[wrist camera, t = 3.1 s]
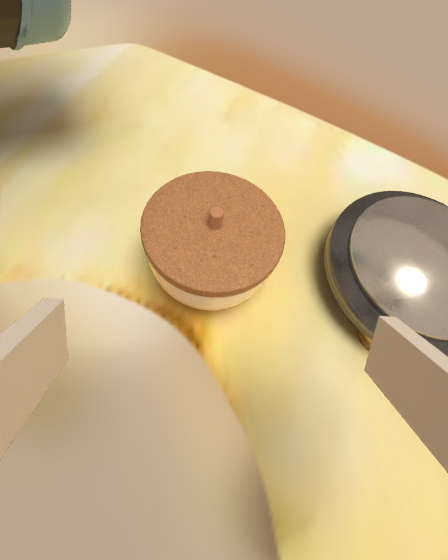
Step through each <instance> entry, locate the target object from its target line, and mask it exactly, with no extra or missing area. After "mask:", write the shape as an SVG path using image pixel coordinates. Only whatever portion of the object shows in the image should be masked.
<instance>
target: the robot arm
mask: <svg viewBox="0 0 448 560" xmlns="http://www.w3.org/2000/svg"><path fill="white" fill-rule="evenodd" d="M70 20H71V0H0V48H6V47H10V48H11V49H12V50H19V49H21V48H22V47H24V46H25V45H32V44H39V43H46V42H53V41H56V40H58V39H60V38H62V37H63V35H64V34H65V33H66V31H67V30H68V27H69V25H70ZM67 360H68V352H67V339H66V327H65V313H64V301H63V299H48V298H43V299H42V300H41V301H39V302H38V303H37V304H36V305H35V306H33V307H32V308H31V309H30V310H29V311H27V312H26V313H25V314H24V315H23V316H22V317H20V318H19V319H18V320H17V321H16V322H14V323H13V324H12V325H11V326H10V327H9V328H7V329H6V330H5V331H4V332H3V333H1V334H0V460H1V458H2V457H3V455H4V454H5V452H6V451H7V449H8V448H9V446H10V445H11V443H12V442H13V440H14V439H15V437H16V436H17V434H18V433H19V431H20V430H21V429H22V427H23V426H24V424H25V422H26V421H27V420H28V418H29V417H30V415H31V414H32V412H33V411H34V409H35V408H36V406H37V405H38V403H39V402H40V400H41V399H42V397H43V396H44V394H45V393H46V392H47V390H48V389H49V387H50V386H51V384H52V383H53V381H54V380H55V378H56V377H57V375H58V374H59V372H60V371H61V369H62V368H63V366H64V365H65V363H66V362H67ZM365 372H366V373H367V374H368V375H369V376H370V378H371V379H372V380H373V381H374V383H375V384H376V385H377V386H378V388H379V389H380V390H381V391H382V393H383V394H384V395H385V396H386V397H387V399H388V400H389V401H390V402H391V404H392V405H393V406H394V407H395V409H396V410H397V411H398V412H399V413H400V415H401V416H402V417H403V418H404V420H405V421H406V422H407V423H408V425H409V426H410V427H411V428H412V429H413V431H414V432H415V433H416V434H417V436H418V437H419V438H420V439H421V441H422V442H423V443H424V444H425V445H426V447H427V448H428V449H429V450H430V452H431V453H432V454H433V455H434V457H435V458H436V459H437V460H438V461H439V463H440V464H441V465H442V466H443V468H444V469H445V470H446V471H447V473H448V357H447V356H446V355H445V354H444V353H442V352H441V351H440V350H438V349H437V348H436V347H434V346H433V345H432V344H430V343H429V342H428V341H427V340H425V339H424V338H423V337H421V336H420V335H419V334H417V333H416V332H415V331H413V330H412V329H411V328H410V327H408V326H407V325H406V324H404V323H403V322H402V321H400V320H399V319H398V318H396V317H390V316H379V317H378V321H377V325H376V329H375V332H374V336H373V340H372V344H371V347H370V351H369V355H368V358H367V362H366V366H365Z"/></svg>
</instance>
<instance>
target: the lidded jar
mask: <svg viewBox="0 0 448 560" xmlns="http://www.w3.org/2000/svg"><path fill="white" fill-rule="evenodd" d="M140 232H141V239H142V244H143V248H144V251H145V254H146V256H147V259H148V262H149V265H150V268H151V270H152V272H153V274H154V276H155V277H156V279H157V281H158V282H159V284H160V285H161V286H162V287H163V289H164V290H165V291H166V292H167V293H168V294H169V295H170V296H172V297H173V298H174V299H176V300H177V301H179V302H180V303H182V304H185V305H187V306H189V307H193V308H196V309H201V310H221V309H227V308H230V307H233V306H236V305H237V304H239V303H241V302H243V301H245V300H246V299H248V298H249V297H250V296H252V295H253V294H254V293H255V292H256V291H257V290H258V289H259V288H260V287H261V286H262V285H263V284H264V282H265V281H266V279H267V278H268V276H269V275H270V274H271V273H272V271H273V270H274V268H275V267H276V265H277V264H278V262H279V260H280V258H281V255H282V253H283V250H284V245H285V228H284V223H283V220H282V217H281V214H280V213H279V211H278V209H277V207H276V205H275V204H274V203H273V201H272V200H271V199H270V198H269V197H268V196H267V195H266V194H265V193H264V192H263V191H262V190H261V189H260V188H258V187H257V186H255V185H254V184H252V183H250V182H249V181H247V180H245V179H243V178H240V177H238V176H234V175H231V174H228V173H222V172H211V171H204V172H195V173H190V174H186V175H183V176H180V177H177V178H175V179H173V180H171V181H169V182H168V183H166V184H165V185H164V186H162V187H161V188H160V189H159V190H158V191H156V192H155V193H154V194H153V196H152V197H151V198H150V200H149V201H148V203H147V205H146V207H145V209H144V211H143V215H142V218H141V228H140Z"/></svg>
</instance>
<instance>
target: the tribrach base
mask: <svg viewBox="0 0 448 560" xmlns="http://www.w3.org/2000/svg"><path fill="white" fill-rule="evenodd" d="M324 264H325V271H326V276H327V280H328V282H329V285H330V288H331V291H332V293H333V295H334V297H335V299H336V301H337V302H338V304H339V305H340V307H341V309H342V310H343V312H344V313H345V314H346V315H347V317H348V318H349V319H350V320H351V322H352V323H353V324H354V325H355V326H356V327H357V328H358V329H357V330H358V335H359V338H360V340H361V342H362V343H363V345H364V346H365V347H366V348H367V349H369V350H370V347H371V344H372V340H373V336H374V332H375V329H376V325H377V321H378V317H379V316H390V317H396V318H398V319H399V320H400V321H402V322H403V323H404V324H406V325H407V326H408V327H410V328H411V329H412V330H413V331H415V332H416V333H417V334H419V335H420V336H421V337H423V338H424V339H425V340H427V341H428V342H429V343H430V344H432V345H433V346H434V347H436V348H437V349H438V350H440V351H441V352H442V353H444V354H445V355H446V356H447V357H448V206H446V205H445V204H443V203H440V202H438V201H436V200H434V199H431V198H428V197H425V196H422V195H418V194H414V193H409V192H402V191H384V192H377V193H372V194H369V195H366V196H364V197H362V198H360V199H358V200H356V201H354V202H353V203H352V204H350V205H349V206H348V207H347V208H346V209H345V210H344V211H343V212H342V213H341V215H340V216H339V218H338V219H337V220H336V222H335V223H334V225H333V226H332V228H331V230H330V232H329V234H328V237H327V240H326V244H325V250H324Z"/></svg>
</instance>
